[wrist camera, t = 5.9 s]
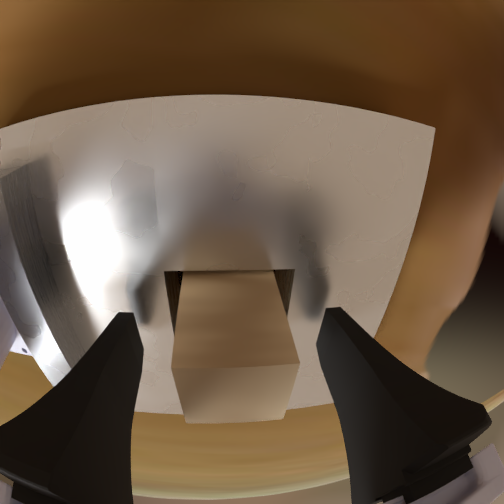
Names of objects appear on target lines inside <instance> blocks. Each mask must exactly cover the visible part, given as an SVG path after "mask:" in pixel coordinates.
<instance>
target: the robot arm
mask: <svg viewBox="0 0 504 504" xmlns="http://www.w3.org/2000/svg"><path fill="white" fill-rule="evenodd" d="M316 348H317V352H318V357H319V361H320V366H321V369H322V371H323V374H324V377H325V380H326V383H327V385H328V388H329V391H330V393H331V396H332V399H333V402H334V404H335V407H336V410H337V413H338V416H339V419H340V424H341V428H342V433H343V437H344V442H345V448H346V453H347V459H348V466H349V474H350V484H351V499H352V504H377V503H379V502H382V501H383V504H491V503H492V502H493V501H494V500H495V499H496V498H497V497H499V496H500V495H501V494H502V493H503V492H504V466H503V464H502V462H501V459H500V457H499V455H498V453H497V451H496V449H495V447H494V444H493V443H491V444H490V445H489V446H487V447H486V448H484V449H483V450H481V451H480V452H478V453H477V454H475V455H474V456H472V457H471V458H469V456H468V453H469V452H471V448H470V446H469V444H470V443H471V442H472V441H474V440H475V439H476V438H477V437H478V436H480V435H481V434H482V433H483V432H484V431H485V430H486V429H488V428H489V426H490V425H491V423H492V421H491V418H490V417H489V415H488V413H487V411H486V409H485V407H484V406H483V405H482V404H479V403H476V402H474V401H471V400H468V399H465V398H462V397H460V396H458V395H455V394H453V393H451V392H449V391H447V390H445V389H443V388H441V387H439V386H437V385H436V384H434V383H432V382H430V381H429V380H427V379H425V378H424V377H422V376H421V375H419V374H417V373H416V372H415V371H413V370H412V369H410V368H409V367H407V366H406V365H405V364H403V363H402V362H401V361H399V360H398V359H397V358H396V357H394V356H393V355H392V354H391V353H390V352H388V351H387V350H386V349H385V348H384V347H383V346H381V345H380V344H379V343H378V342H377V341H376V340H375V339H374V338H373V337H371V336H370V335H369V334H368V333H367V332H366V331H365V330H364V329H363V328H362V327H361V326H360V325H359V324H358V323H357V322H356V321H355V320H354V319H353V318H352V317H351V316H350V315H349V314H347V313H346V312H345V311H344V310H343V309H342V308H341V307H332V308H326V309H325V313H324V317H323V320H322V324H321V327H320V331H319V334H318V338H317V341H316ZM9 351H12V352H17V353H21V354H26V355H31V356H33V355H32V354H31V352H30V351H29V349H28V347H27V346H26V344H25V342H24V340H23V339H22V337H21V335H20V333H19V332H18V330H17V328H16V326H15V324H14V322H13V320H12V318H11V317H10V315H9V313H8V311H7V309H6V306H5V304H4V302H3V300H2V298H1V296H0V369H1V367H2V365H3V363H4V361H5V359H6V357H7V355H8V353H9ZM143 356H144V347H143V344H142V341H141V337H140V334H139V330H138V327H137V323H136V320H135V316H134V312H118V313H117V314H116V315H115V317H114V318H113V319H112V320H111V322H110V323H109V324H108V326H107V327H106V328H105V329H104V331H103V332H102V333H101V334H100V336H99V337H98V338H97V340H96V341H95V342H94V343H93V344H92V346H91V347H90V348H89V349H88V351H87V352H86V353H85V354H84V355H83V357H82V358H81V359H80V360H79V361H78V362H77V363H76V365H75V366H74V367H73V368H72V369H71V370H70V371H69V372H68V373H67V375H66V376H65V377H64V378H63V379H62V380H61V381H60V382H59V383H58V384H57V385H56V386H55V387H53V388H52V389H51V390H50V391H49V392H48V393H47V394H45V395H44V396H43V397H42V398H41V399H39V400H38V401H37V402H36V403H35V404H33V405H32V406H31V407H29V408H28V409H27V410H25V411H24V412H22V413H21V414H19V415H18V416H16V417H15V418H13V419H12V420H10V421H8V422H7V423H5V424H3V425H1V426H0V473H1V474H2V475H4V476H6V477H7V478H9V479H11V480H12V481H14V483H13V487H12V486H10V485H8V484H6V483H4V482H3V481H1V480H0V504H133V496H132V485H131V429H132V421H133V415H134V410H135V405H136V399H137V394H138V389H139V384H140V380H141V375H142V367H143Z"/></svg>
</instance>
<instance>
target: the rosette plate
mask: <svg viewBox="0 0 504 504" xmlns="http://www.w3.org/2000/svg"><path fill="white" fill-rule="evenodd" d="M434 134H435V128H434V127H431V126H428V125H424V124H421V123H418V122H414V121H410V120H407V119H403V118H399V117H395V116H391V115H387V114H383V113H378V112H374V111H369V110H364V109H359V108H354V107H348V106H343V105H337V104H330V103H324V102H317V101H309V100H301V99H291V98H280V97H267V96H250V95H181V96H164V97H151V98H141V99H131V100H123V101H116V102H109V103H102V104H96V105H91V106H85V107H80V108H75V109H70V110H66V111H61V112H57V113H53V114H49V115H45V116H41V117H37V118H33V119H30V120H26V121H23V122H20V123H16V124H13V125H10V126H7V127H4V128H1V129H0V296H1V298H2V300H3V302H4V304H5V306H6V309H7V311H8V313H9V315H10V317H11V318H12V320H13V322H14V324H15V326H16V328H17V330H18V332H19V333H20V335H21V337H22V339H23V340H24V342H25V344H26V346H27V347H28V349H29V351H30V352H31V354H32V355H33V357H34V359H35V360H36V362H37V363H38V365H39V366H40V368H41V369H42V371H43V372H44V374H45V375H46V377H47V378H48V380H49V381H50V382H51V384H52V385H53V387H55V386H56V385H57V384H58V383H59V382H60V381H61V380H62V379H63V378H64V377H65V376H66V375H67V373H68V372H69V371H70V370H71V369H72V368H73V367H74V366H75V365H76V363H77V362H78V361H79V360H80V359H81V358H82V357H83V355H84V354H85V353H86V352H87V351H88V349H89V348H90V347H91V346H92V344H93V343H94V342H95V341H96V340H97V338H98V337H99V336H100V334H101V333H102V332H103V331H104V329H105V328H106V327H107V326H108V324H109V323H110V322H111V320H112V319H113V318H114V317H115V315H116V314H117V313H118V312H134V316H135V320H136V323H137V327H138V330H139V334H140V337H141V341H142V344H143V347H144V356H143V367H142V375H141V380H140V384H139V389H138V394H137V399H136V405H135V410H134V411H138V412H151V413H167V414H183V410H182V407H181V403H180V400H179V396H178V393H177V389H176V386H175V382H174V378H173V374H172V370H171V362H172V353H173V344H174V335H175V327H176V319H177V312H178V305H179V298H180V287H179V278H178V271H214V270H272V269H275V279H276V282H277V286H278V289H279V292H280V296H281V299H282V303H283V306H284V309H285V313H286V316H287V319H288V323H289V326H290V330H291V333H292V337H293V340H294V343H295V347H296V350H297V354H298V357H299V361H300V366H299V369H298V373H297V376H296V379H295V383H294V386H293V389H292V393H291V396H290V399H289V402H288V405H287V409H295V408H303V407H310V406H317V405H323V404H329V403H334V402H333V399H332V396H331V393H330V391H329V388H328V385H327V383H326V380H325V377H324V374H323V371H322V369H321V366H320V361H319V357H318V352H317V348H316V341H317V338H318V334H319V331H320V327H321V324H322V320H323V317H324V313H325V309H326V308H332V307H341V308H342V309H343V310H344V311H345V312H346V313H347V314H349V315H350V316H351V317H352V318H353V319H354V320H355V321H356V322H357V323H358V324H359V325H360V326H361V327H362V328H363V329H364V330H365V331H366V332H367V333H368V334H369V335H370V336H371V337H373V338H374V336H375V334H376V332H377V329H378V327H379V325H380V322H381V320H382V318H383V315H384V313H385V310H386V308H387V305H388V303H389V300H390V298H391V295H392V293H393V290H394V287H395V285H396V282H397V279H398V276H399V274H400V271H401V268H402V265H403V262H404V259H405V256H406V253H407V250H408V247H409V243H410V240H411V237H412V233H413V230H414V227H415V223H416V219H417V216H418V212H419V208H420V204H421V200H422V196H423V192H424V187H425V183H426V178H427V174H428V169H429V164H430V158H431V153H432V147H433V141H434ZM287 409H286V410H287Z"/></svg>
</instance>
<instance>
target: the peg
mask: <svg viewBox="0 0 504 504" xmlns="http://www.w3.org/2000/svg"><path fill="white" fill-rule="evenodd" d="M299 366H300V361H299V357H298V354H297V350H296V347H295V343H294V340H293V337H292V333H291V330H290V326H289V323H288V319H287V316H286V313H285V309H284V306H283V303H282V299H281V296H280V292H279V289H278V286H277V282H276V279H275V276H274V272H273V269H272V270H214V271H183V278H182V284H181V291H180V298H179V305H178V312H177V319H176V327H175V335H174V344H173V353H172V362H171V370H172V374H173V378H174V382H175V386H176V389H177V393H178V396H179V400H180V403H181V407H182V410H183V414H184V417H185V420H186V423H238V422H255V421H267V420H278V419H283V418H284V415H285V412H286V409H287V405H288V402H289V399H290V396H291V393H292V389H293V386H294V383H295V379H296V376H297V373H298V369H299Z"/></svg>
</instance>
